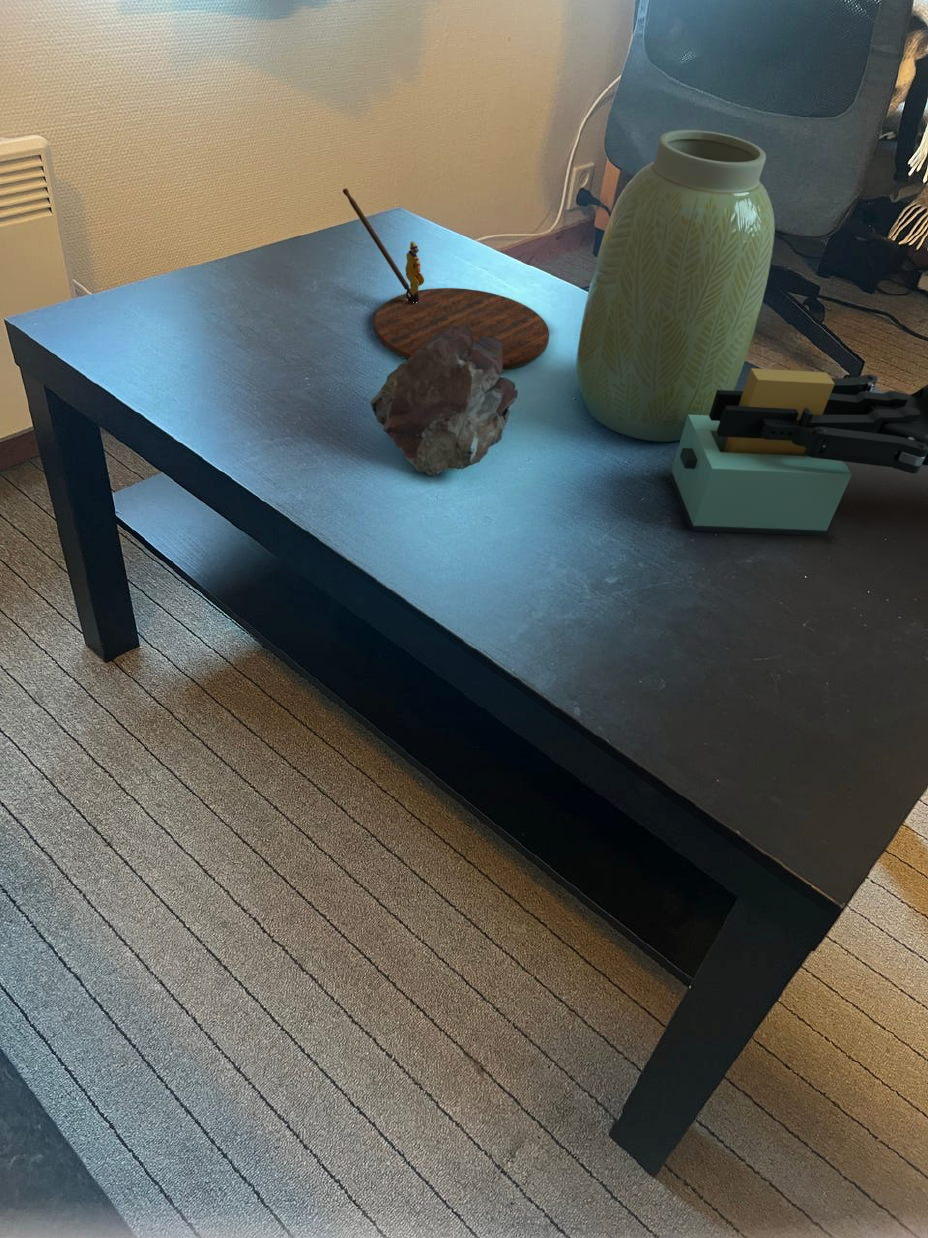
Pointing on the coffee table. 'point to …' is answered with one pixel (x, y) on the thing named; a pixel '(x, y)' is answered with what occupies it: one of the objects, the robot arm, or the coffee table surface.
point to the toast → (781, 404)
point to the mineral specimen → (447, 401)
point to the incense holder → (453, 314)
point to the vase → (676, 286)
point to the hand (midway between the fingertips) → (718, 413)
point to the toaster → (753, 486)
